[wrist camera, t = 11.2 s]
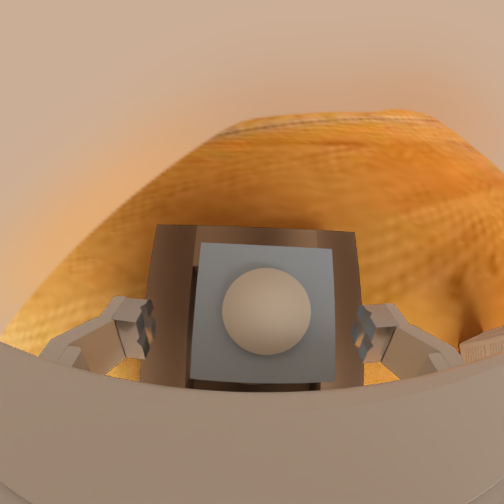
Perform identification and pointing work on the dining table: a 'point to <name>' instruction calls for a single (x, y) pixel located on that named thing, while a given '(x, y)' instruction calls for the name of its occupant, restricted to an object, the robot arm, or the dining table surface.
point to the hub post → (264, 315)
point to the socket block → (184, 293)
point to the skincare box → (482, 345)
